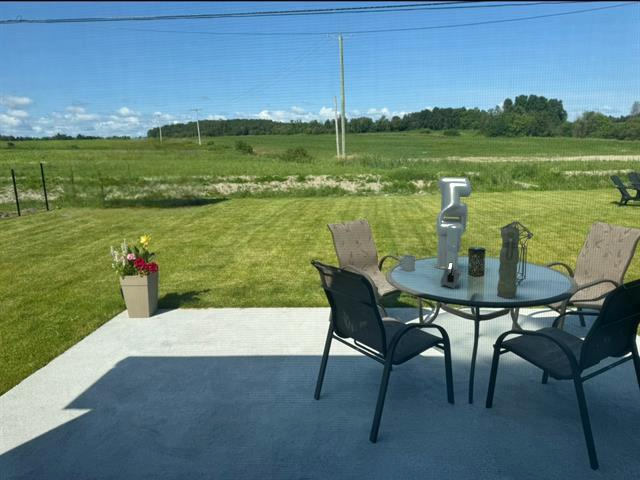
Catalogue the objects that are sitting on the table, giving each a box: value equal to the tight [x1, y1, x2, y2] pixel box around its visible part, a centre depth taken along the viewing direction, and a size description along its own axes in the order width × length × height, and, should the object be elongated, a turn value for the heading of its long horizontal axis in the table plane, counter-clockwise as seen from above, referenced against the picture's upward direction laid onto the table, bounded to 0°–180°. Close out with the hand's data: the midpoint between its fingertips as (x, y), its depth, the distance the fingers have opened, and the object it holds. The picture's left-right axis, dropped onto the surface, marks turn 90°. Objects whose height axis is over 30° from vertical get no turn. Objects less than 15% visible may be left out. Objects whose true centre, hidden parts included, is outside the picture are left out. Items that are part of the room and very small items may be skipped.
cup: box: [398, 254, 416, 272], centre depth 281 cm, size 7×10×9 cm
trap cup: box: [439, 268, 463, 289], centre depth 244 cm, size 8×8×9 cm
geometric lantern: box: [498, 221, 534, 286], centre depth 247 cm, size 16×16×35 cm
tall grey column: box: [496, 226, 521, 299], centre depth 224 cm, size 9×12×35 cm
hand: (451, 280), depth 244 cm, fingers closed on trap cup, 7 cm apart
